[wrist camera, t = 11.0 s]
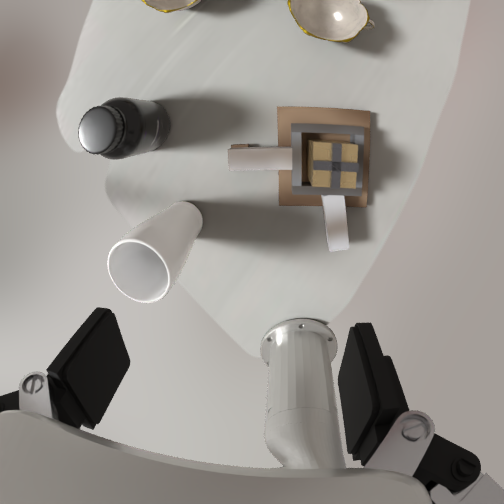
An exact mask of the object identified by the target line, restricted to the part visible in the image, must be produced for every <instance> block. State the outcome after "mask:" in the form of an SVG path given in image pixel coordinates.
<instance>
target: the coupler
mask: <svg viewBox="0 0 504 504" xmlns="http://www.w3.org/2000/svg"><path fill="white" fill-rule="evenodd" d="M357 158H358V145H357V144H353V143H350V142H346V141H339V140H323V139H307V174H306V175H307V177H308V179H309V181H310V183H311V185H312V187H330V188H331V189H340V188H354V189H356V176H357V172H358V170H359V163H357Z"/></svg>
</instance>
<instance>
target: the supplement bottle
mask: <svg viewBox="0 0 504 504" xmlns="http://www.w3.org/2000/svg"><path fill="white" fill-rule="evenodd" d="M169 130H170V120H169V116H168V114H167V112H166V110H165V109H164V108H163V107H162V106H161V105H159V104H158V103H155V102H152V101H146V100H139V99H131V98H113V99H110V100H108V101H106V102H105V103H103V104H102V105H101V106H97V107H93V108H92V109H90V110H89V111H87V112H86V114H85V115H84V116H83V118H82V119H81V122H80V126H79V132H78V134H79V139H80V142H81V145H82V146H83V148H84V149H86V151H88V152H89V153H92V154H101V155H102V156H103V157H105V158H108V159H122V158H126V157H130V156H134V155H138V154H142V153H146V152H149V151H152V150H155V149H157V148H158V147H159V146H161V145H162V144H163V142H164V141H165V140H166V138H167V136H168V133H169Z"/></svg>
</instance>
